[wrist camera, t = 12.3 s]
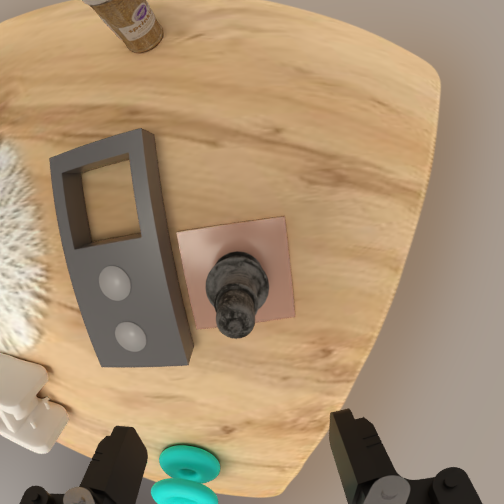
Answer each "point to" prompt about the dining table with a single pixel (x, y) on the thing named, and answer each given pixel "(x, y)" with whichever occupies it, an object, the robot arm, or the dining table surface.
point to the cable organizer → (28, 406)
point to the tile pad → (242, 240)
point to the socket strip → (123, 260)
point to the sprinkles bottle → (130, 22)
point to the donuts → (186, 476)
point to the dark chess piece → (237, 292)
